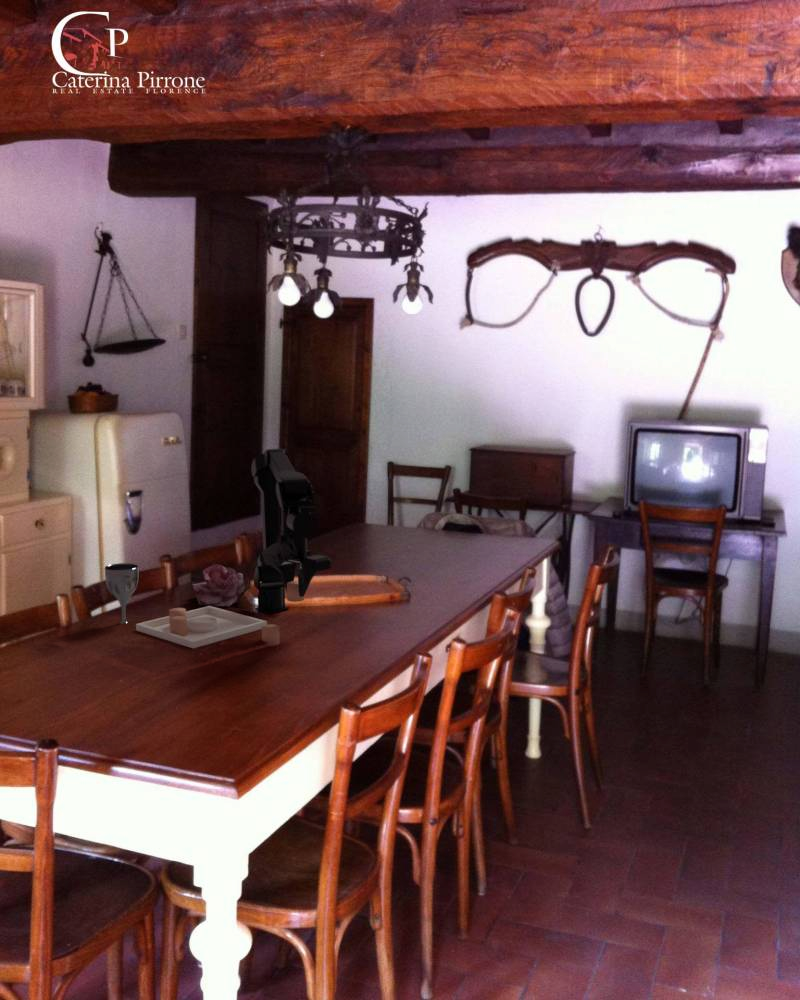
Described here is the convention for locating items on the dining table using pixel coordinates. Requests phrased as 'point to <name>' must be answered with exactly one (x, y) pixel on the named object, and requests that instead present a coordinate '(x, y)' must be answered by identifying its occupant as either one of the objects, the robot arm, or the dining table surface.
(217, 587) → the flower
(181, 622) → the seated bead
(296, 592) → the beige cube
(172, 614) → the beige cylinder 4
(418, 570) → the dining table surface
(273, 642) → the pale tan cube
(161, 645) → the dining table surface
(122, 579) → the wine glass
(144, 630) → the groove dish
